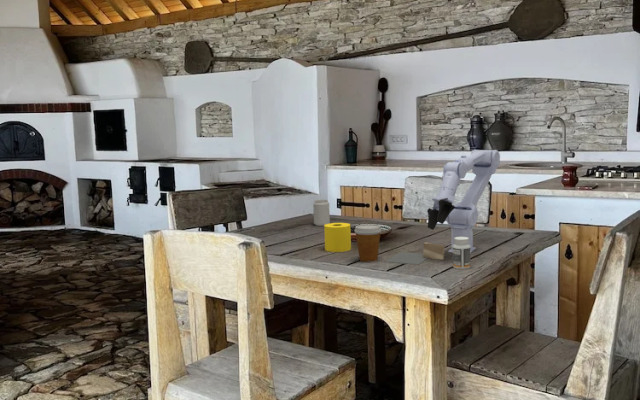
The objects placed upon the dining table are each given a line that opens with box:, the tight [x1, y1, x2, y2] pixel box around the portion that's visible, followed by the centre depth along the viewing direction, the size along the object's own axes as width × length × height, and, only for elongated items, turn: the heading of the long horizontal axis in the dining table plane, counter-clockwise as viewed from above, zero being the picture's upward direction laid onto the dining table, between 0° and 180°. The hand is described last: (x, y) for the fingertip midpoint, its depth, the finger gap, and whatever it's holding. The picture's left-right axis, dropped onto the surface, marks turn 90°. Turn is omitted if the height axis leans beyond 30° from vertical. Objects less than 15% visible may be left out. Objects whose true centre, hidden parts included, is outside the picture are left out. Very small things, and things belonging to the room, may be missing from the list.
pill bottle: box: [452, 237, 472, 270], centre depth 201 cm, size 6×6×10 cm
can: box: [312, 199, 331, 227], centre depth 290 cm, size 8×8×12 cm
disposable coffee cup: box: [354, 223, 382, 263], centre depth 216 cm, size 10×10×12 cm
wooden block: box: [422, 241, 446, 260], centre depth 215 cm, size 2×7×5 cm, turn 63°
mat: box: [385, 251, 428, 266], centre depth 216 cm, size 16×12×1 cm
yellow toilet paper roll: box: [323, 222, 352, 253], centre depth 236 cm, size 10×10×9 cm
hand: (435, 225), depth 210 cm, fingers open, 7 cm apart
